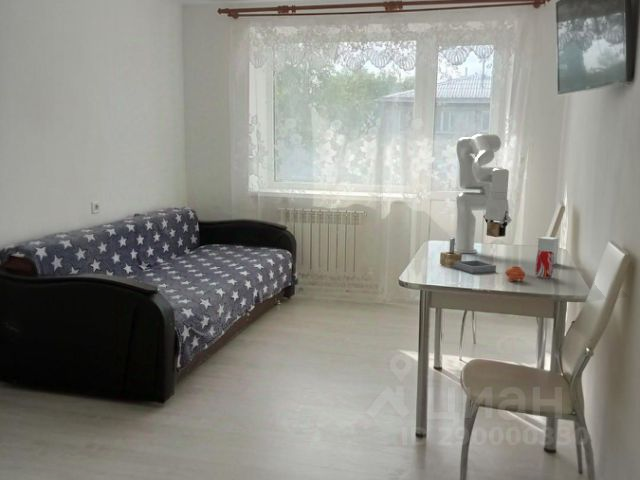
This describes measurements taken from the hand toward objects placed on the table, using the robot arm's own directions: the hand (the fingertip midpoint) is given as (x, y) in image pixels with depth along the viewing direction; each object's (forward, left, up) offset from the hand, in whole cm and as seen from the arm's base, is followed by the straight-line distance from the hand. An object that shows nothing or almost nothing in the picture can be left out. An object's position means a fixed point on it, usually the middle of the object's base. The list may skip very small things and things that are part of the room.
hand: (495, 234), depth 272 cm
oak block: (-10, -17, -16) cm, 25 cm away
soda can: (+24, +7, -16) cm, 29 cm away
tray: (+2, -13, -15) cm, 20 cm away
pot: (+26, -11, -16) cm, 32 cm away
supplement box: (+1, +32, -16) cm, 36 cm away
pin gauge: (-10, -17, -15) cm, 24 cm away
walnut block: (0, 0, -1) cm, 1 cm away
